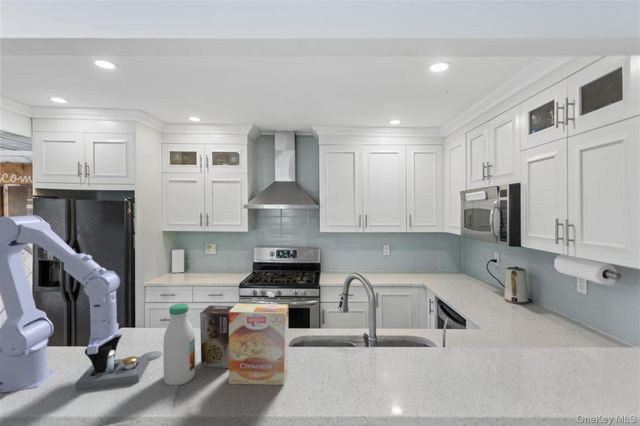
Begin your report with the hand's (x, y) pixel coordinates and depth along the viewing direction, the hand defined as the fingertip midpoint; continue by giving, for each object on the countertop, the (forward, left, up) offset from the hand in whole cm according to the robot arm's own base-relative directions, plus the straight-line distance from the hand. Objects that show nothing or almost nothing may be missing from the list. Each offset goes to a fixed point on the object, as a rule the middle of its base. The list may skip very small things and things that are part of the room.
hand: (104, 367), depth 82 cm
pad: (+9, +9, -3) cm, 13 cm away
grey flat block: (+2, 0, -3) cm, 4 cm away
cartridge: (0, 0, -3) cm, 3 cm away
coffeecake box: (+40, -10, -3) cm, 42 cm away
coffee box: (+29, +1, -3) cm, 30 cm away
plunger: (+6, 0, -2) cm, 6 cm away
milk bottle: (+19, -5, -3) cm, 20 cm away
